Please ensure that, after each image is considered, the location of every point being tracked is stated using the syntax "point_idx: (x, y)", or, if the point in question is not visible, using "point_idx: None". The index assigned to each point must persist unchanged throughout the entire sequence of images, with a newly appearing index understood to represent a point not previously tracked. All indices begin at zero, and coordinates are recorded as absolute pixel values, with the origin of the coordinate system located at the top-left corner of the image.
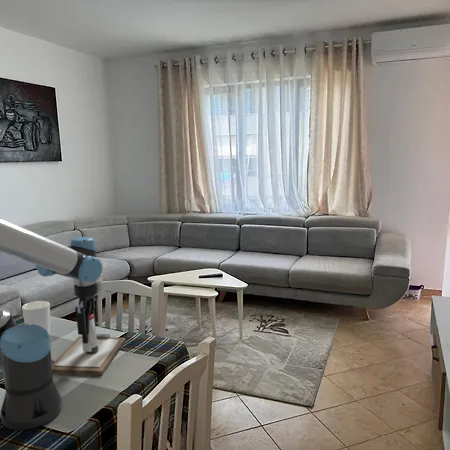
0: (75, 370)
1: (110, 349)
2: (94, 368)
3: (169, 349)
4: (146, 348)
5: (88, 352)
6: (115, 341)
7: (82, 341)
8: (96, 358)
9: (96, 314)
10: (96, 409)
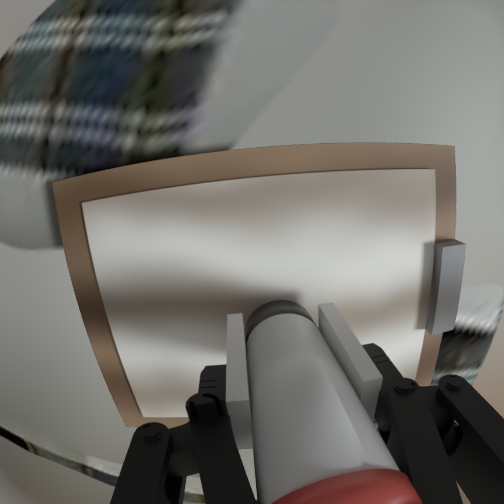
0: (87, 330)
1: None
2: (130, 399)
3: None
4: None
5: (244, 332)
6: None
7: (227, 355)
8: None
9: (455, 476)
10: (12, 428)
